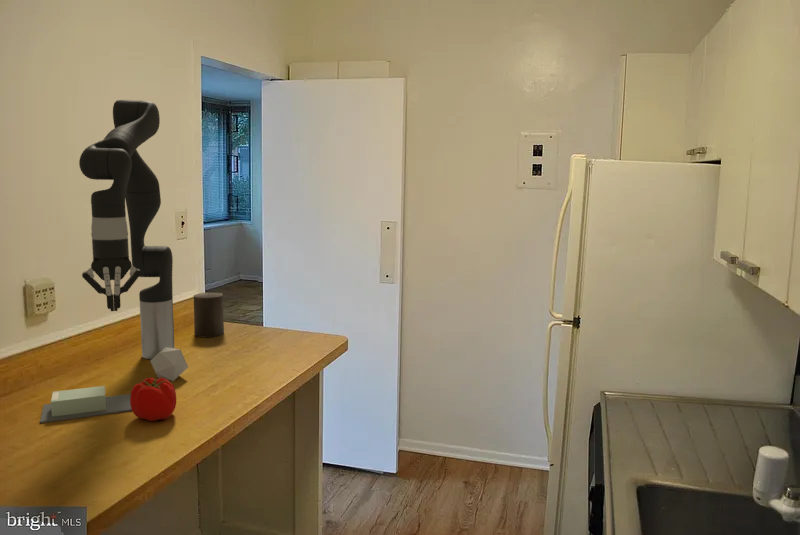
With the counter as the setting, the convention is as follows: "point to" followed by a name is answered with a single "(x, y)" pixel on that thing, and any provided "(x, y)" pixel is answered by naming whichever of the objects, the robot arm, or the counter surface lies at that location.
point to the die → (169, 363)
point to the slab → (78, 401)
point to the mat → (112, 406)
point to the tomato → (153, 399)
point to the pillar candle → (208, 314)
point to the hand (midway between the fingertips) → (113, 310)
